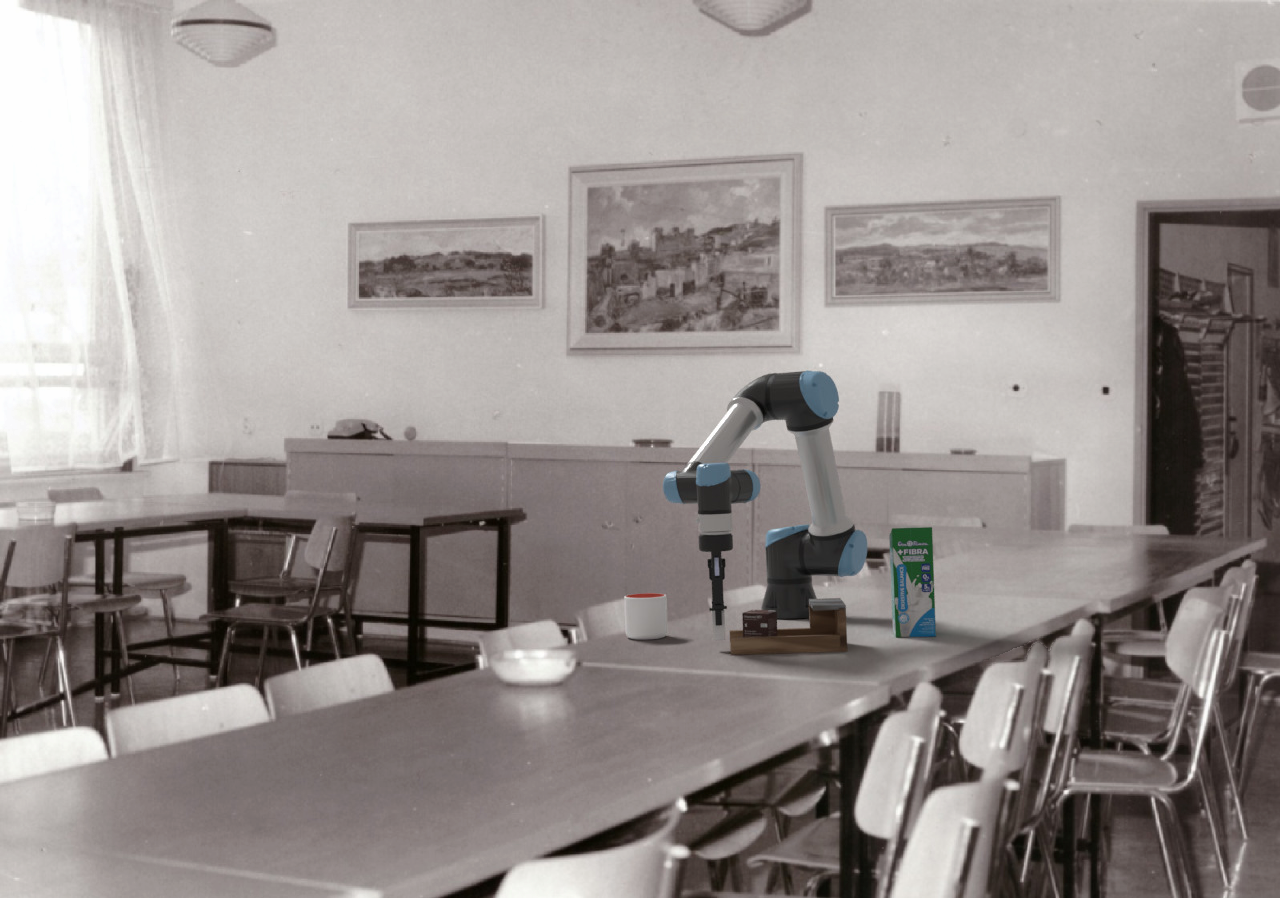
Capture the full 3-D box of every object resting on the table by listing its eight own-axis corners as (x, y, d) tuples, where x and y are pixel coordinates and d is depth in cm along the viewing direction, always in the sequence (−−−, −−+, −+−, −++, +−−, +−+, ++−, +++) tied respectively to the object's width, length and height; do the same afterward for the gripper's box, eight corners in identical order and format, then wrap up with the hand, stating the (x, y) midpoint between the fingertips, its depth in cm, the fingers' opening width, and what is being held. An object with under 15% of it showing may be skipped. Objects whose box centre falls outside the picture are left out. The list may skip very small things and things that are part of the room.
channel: (730, 645, 325) (728, 601, 325) (841, 642, 324) (840, 597, 324) (731, 654, 312) (729, 608, 312) (847, 651, 311) (845, 604, 311)
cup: (663, 640, 337) (662, 597, 337) (621, 640, 339) (620, 598, 339) (671, 634, 347) (669, 592, 347) (630, 634, 349) (629, 593, 349)
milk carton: (931, 631, 336) (928, 524, 336) (936, 636, 328) (932, 526, 327) (892, 631, 337) (888, 525, 337) (895, 637, 328) (891, 527, 328)
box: (742, 646, 317) (741, 612, 317) (752, 642, 322) (751, 609, 322) (768, 647, 314) (767, 613, 314) (778, 643, 320) (777, 610, 319)
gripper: (698, 531, 325) (702, 635, 325) (698, 535, 312) (702, 644, 312) (731, 530, 325) (735, 634, 325) (733, 534, 312) (736, 643, 312)
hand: (719, 639), depth 319 cm, fingers closed
